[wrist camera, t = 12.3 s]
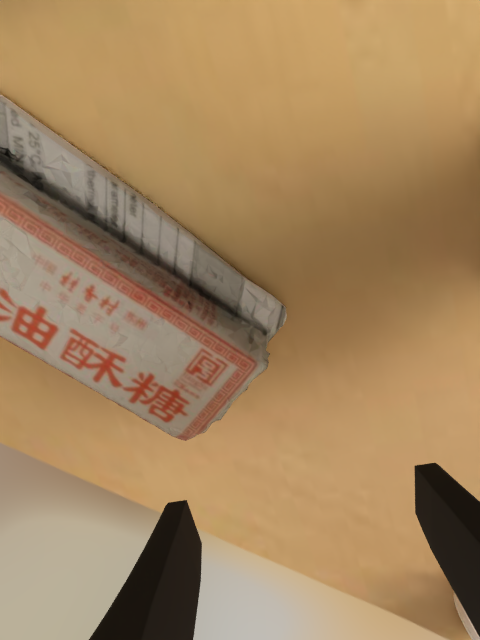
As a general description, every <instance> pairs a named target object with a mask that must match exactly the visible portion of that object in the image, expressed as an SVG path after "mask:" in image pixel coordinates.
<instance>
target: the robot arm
mask: <svg viewBox="0 0 480 640" xmlns="http://www.w3.org/2000/svg"><path fill="white" fill-rule="evenodd" d="M415 512H416V515H417V518H418V520H419V522H420V525H421V527H422V530H423V532H424V534H425V537H426V539H427V541H428V543H429V546H430V548H431V550H432V552H433V554H434V556H435V558H436V559H437V561H438V563H439V565H440V567H441V569H442V570H443V572H444V574H445V576H446V578H447V579H448V581H449V583H450V585H451V587H452V589H453V590H454V592H455V594H456V596H457V598H458V599H459V601H460V603H461V605H462V607H463V608H464V610H465V612H466V614H467V616H468V617H469V619H470V621H471V623H472V625H473V626H474V628H475V630H476V632H477V634H478V635H479V637H480V502H479V501H478V500H477V499H476V498H475V497H474V496H473V495H471V494H470V493H469V492H468V491H467V490H466V489H465V488H463V487H462V486H461V485H460V484H459V483H458V482H457V481H456V480H454V479H453V478H452V477H451V476H450V475H449V474H448V473H447V472H446V471H445V470H443V469H442V468H441V467H440V466H439V465H438V464H436V463H430V464H424V465H417V466H415ZM201 549H202V543H201V540H200V537H199V534H198V532H197V528H196V526H195V523H194V520H193V517H192V514H191V512H190V509H189V506H188V503H187V500H184V501H177V502H171V503H168V504H167V505H166V506H165V508H164V511H163V513H162V515H161V517H160V519H159V521H158V523H157V525H156V527H155V529H154V531H153V533H152V534H151V536H150V538H149V540H148V542H147V544H146V546H145V548H144V550H143V552H142V553H141V555H140V557H139V559H138V561H137V562H136V564H135V566H134V568H133V570H132V572H131V573H130V575H129V577H128V579H127V580H126V582H125V584H124V585H123V587H122V589H121V590H120V592H119V594H118V596H117V597H116V599H115V600H114V602H113V603H112V605H111V607H110V608H109V610H108V612H107V613H106V615H105V616H104V618H103V619H102V621H101V622H100V624H99V626H98V627H97V629H96V630H95V632H94V633H93V635H92V636H91V637H90V639H89V640H193V636H194V629H195V620H196V613H197V606H198V597H199V589H200V581H201V551H202V550H201Z"/></svg>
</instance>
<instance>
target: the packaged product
mask: <svg viewBox="0 0 480 640" xmlns="http://www.w3.org/2000/svg"><path fill="white" fill-rule="evenodd" d="M286 318H287V316H286V307H285V306H284V305H283V304H282V303H281V302H280V301H278V300H277V299H276V298H275V297H274V296H273V295H271V294H270V293H268V292H267V291H265V290H264V289H262V288H260V287H259V286H257V285H256V284H254V283H253V282H251V281H250V280H248V279H247V278H245V277H244V276H243V275H242V274H240V273H239V272H238V271H237V270H235V269H234V268H233V267H232V266H231V265H229V264H228V263H227V262H226V261H224V260H223V259H222V258H221V257H219V256H218V255H217V254H216V253H215V252H213V251H212V250H211V249H210V248H208V247H207V246H206V245H205V244H203V243H202V242H201V241H200V240H199V239H197V238H196V237H195V236H194V235H192V234H191V233H190V232H189V231H187V230H186V229H185V228H183V227H182V226H181V225H180V224H178V223H177V222H176V221H174V220H173V219H172V218H171V217H169V216H168V215H167V214H166V213H164V212H163V211H162V210H160V209H159V208H158V207H157V206H155V205H154V204H153V203H152V202H150V201H149V200H147V199H146V198H145V197H143V196H142V195H140V194H139V193H138V192H136V191H135V190H134V189H132V188H131V187H129V186H128V185H127V184H125V183H124V182H122V181H121V180H120V179H118V178H117V177H116V176H114V175H113V174H111V173H110V172H109V171H107V170H106V169H104V168H103V167H102V166H100V165H99V164H97V163H96V162H95V161H93V160H92V159H91V158H89V157H88V156H86V155H85V154H84V153H82V152H81V151H79V150H78V149H77V148H75V147H74V146H72V145H71V144H70V143H68V142H67V141H65V140H64V139H63V138H61V137H60V136H59V135H57V134H56V133H54V132H53V131H52V130H50V129H49V128H47V127H46V126H45V125H43V124H42V123H40V122H39V121H38V120H36V119H35V118H33V117H32V116H31V115H29V114H28V113H27V112H25V111H24V110H22V109H21V108H20V107H18V106H17V105H15V104H14V103H13V102H11V101H10V100H8V99H7V98H5V97H4V96H2V95H0V337H2V338H4V339H6V340H7V341H9V342H11V343H12V344H14V345H16V346H18V347H19V348H21V349H23V350H24V351H26V352H28V353H30V354H32V355H33V356H35V357H37V358H39V359H40V360H42V361H44V362H46V363H47V364H49V365H51V366H52V367H54V368H56V369H58V370H59V371H61V372H63V373H65V374H66V375H68V376H70V377H72V378H73V379H75V380H77V381H79V382H80V383H82V384H84V385H86V386H87V387H89V388H91V389H93V390H94V391H96V392H98V393H100V394H102V395H103V396H105V397H106V398H108V399H110V400H112V401H114V402H115V403H117V404H118V405H120V406H122V407H123V408H125V409H127V410H129V411H131V412H133V413H134V414H136V415H138V416H139V417H140V418H142V419H144V420H145V421H147V422H149V423H151V424H153V425H155V426H156V427H158V428H159V429H161V430H163V431H164V432H166V433H168V434H169V435H171V436H173V437H176V438H178V439H181V440H185V441H186V440H189V439H191V438H193V437H195V436H196V435H197V434H201V433H204V432H206V431H207V429H208V428H209V427H210V425H211V424H212V423H213V422H215V421H217V420H221V419H222V417H223V416H224V414H225V413H226V411H227V410H228V409H229V408H230V406H231V404H232V403H233V401H234V400H235V399H236V398H237V397H238V396H239V395H240V394H241V393H242V392H244V391H245V390H247V388H248V385H249V384H250V383H251V382H252V380H253V379H255V378H256V377H257V376H258V375H259V374H261V373H262V372H263V371H264V370H265V369H267V366H268V363H269V362H268V357H269V355H270V353H269V352H267V351H266V348H267V343H268V342H269V341H270V340H271V338H272V337H273V336H274V335H275V334H276V333H277V331H278V330H279V329H280V328H281V327H282V326H283V324H284V322H285V320H286Z"/></svg>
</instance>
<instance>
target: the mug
mask: <svg viewBox="0 0 480 640" xmlns="http://www.w3.org/2000/svg"><path fill="white" fill-rule="evenodd" d="M453 598H454V603H455V606H456V609H457V612H458V614H459V616H460V619H461V621H462V623H463V625H464V627H465V628H466V630H467V632H468V634H469V636H470V637H471V639H472V640H480V637H479V635H478V634H477V632H476V630H475V628H474V626H473V625H472V623H471V621H470V619H469V617H468V616H467V614H466V612H465V610H464V608H463V607H462V605H461V603H460V601H459V599H458V598H457V596H456V594H455V592H454V594H453Z"/></svg>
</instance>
